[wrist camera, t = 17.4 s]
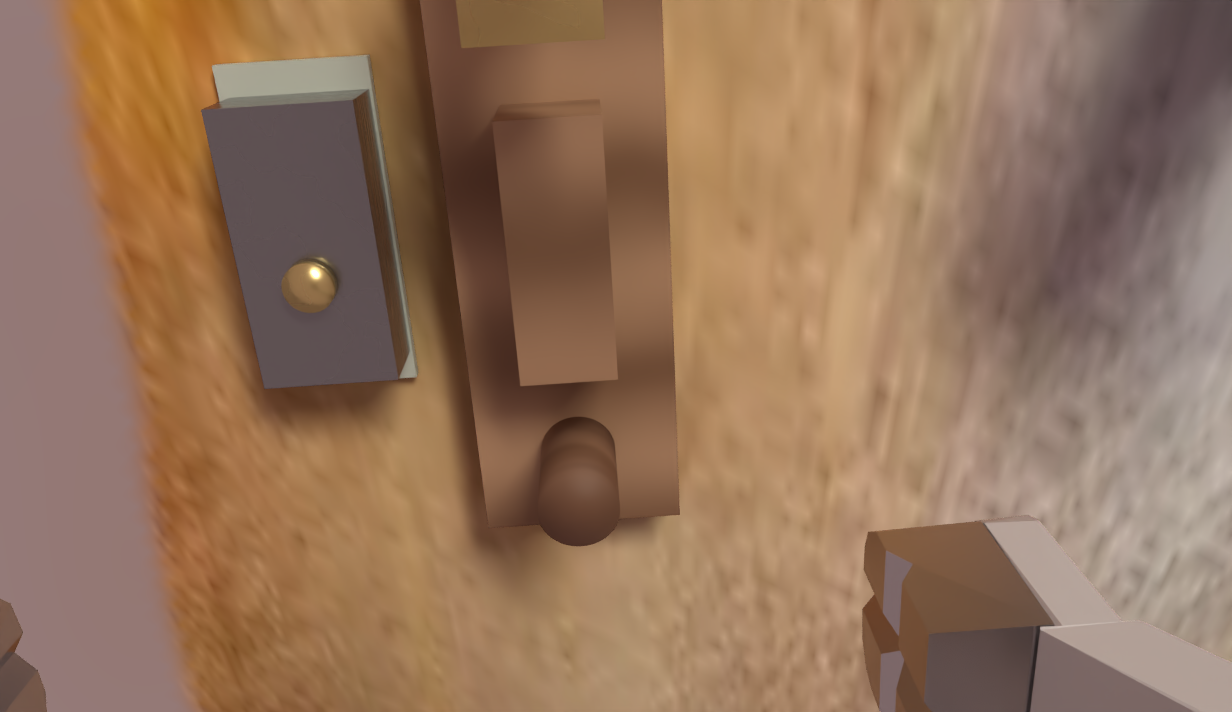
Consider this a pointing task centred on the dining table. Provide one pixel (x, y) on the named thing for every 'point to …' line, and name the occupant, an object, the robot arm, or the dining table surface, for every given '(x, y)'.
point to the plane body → (563, 267)
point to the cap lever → (528, 21)
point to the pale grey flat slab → (317, 79)
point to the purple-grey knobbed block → (310, 235)
